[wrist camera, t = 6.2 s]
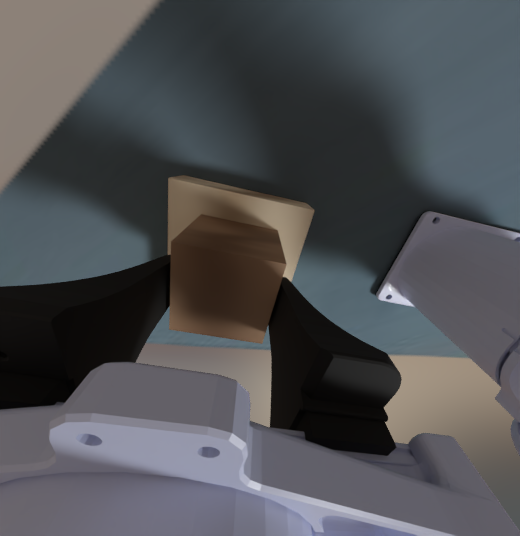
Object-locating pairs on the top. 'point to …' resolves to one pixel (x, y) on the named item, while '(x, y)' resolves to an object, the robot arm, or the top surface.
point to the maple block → (239, 212)
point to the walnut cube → (225, 278)
